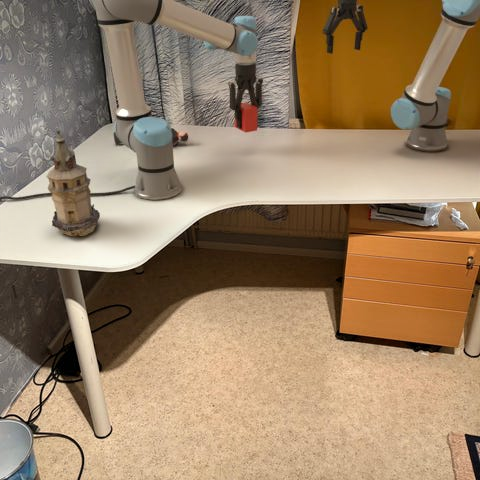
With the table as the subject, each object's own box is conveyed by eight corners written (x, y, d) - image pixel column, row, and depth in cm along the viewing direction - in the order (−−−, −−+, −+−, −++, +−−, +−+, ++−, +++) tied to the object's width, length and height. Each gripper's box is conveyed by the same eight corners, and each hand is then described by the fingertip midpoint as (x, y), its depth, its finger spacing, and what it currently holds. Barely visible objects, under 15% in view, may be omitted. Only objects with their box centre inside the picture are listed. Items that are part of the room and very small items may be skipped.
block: (245, 132, 199) (245, 109, 195) (234, 127, 205) (234, 104, 201) (257, 130, 201) (257, 107, 197) (246, 124, 207) (246, 102, 203)
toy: (129, 119, 231) (196, 119, 225) (131, 133, 234) (197, 134, 228) (104, 139, 209) (177, 139, 203) (107, 154, 212) (179, 155, 206)
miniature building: (80, 214, 164) (63, 117, 149) (111, 225, 157) (96, 125, 142) (44, 231, 154) (22, 130, 140) (75, 244, 147) (55, 139, 133)
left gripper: (228, 67, 185) (229, 133, 196) (272, 61, 193) (271, 125, 204) (218, 63, 190) (220, 127, 202) (261, 58, 198) (261, 120, 210)
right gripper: (327, -5, 193) (323, 56, 204) (380, -9, 204) (374, 49, 214) (315, -7, 199) (312, 53, 209) (367, -11, 209) (362, 46, 220)
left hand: (245, 126), depth 203 cm, fingers closed on block, 5 cm apart
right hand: (343, 51), depth 212 cm, fingers open, 13 cm apart
